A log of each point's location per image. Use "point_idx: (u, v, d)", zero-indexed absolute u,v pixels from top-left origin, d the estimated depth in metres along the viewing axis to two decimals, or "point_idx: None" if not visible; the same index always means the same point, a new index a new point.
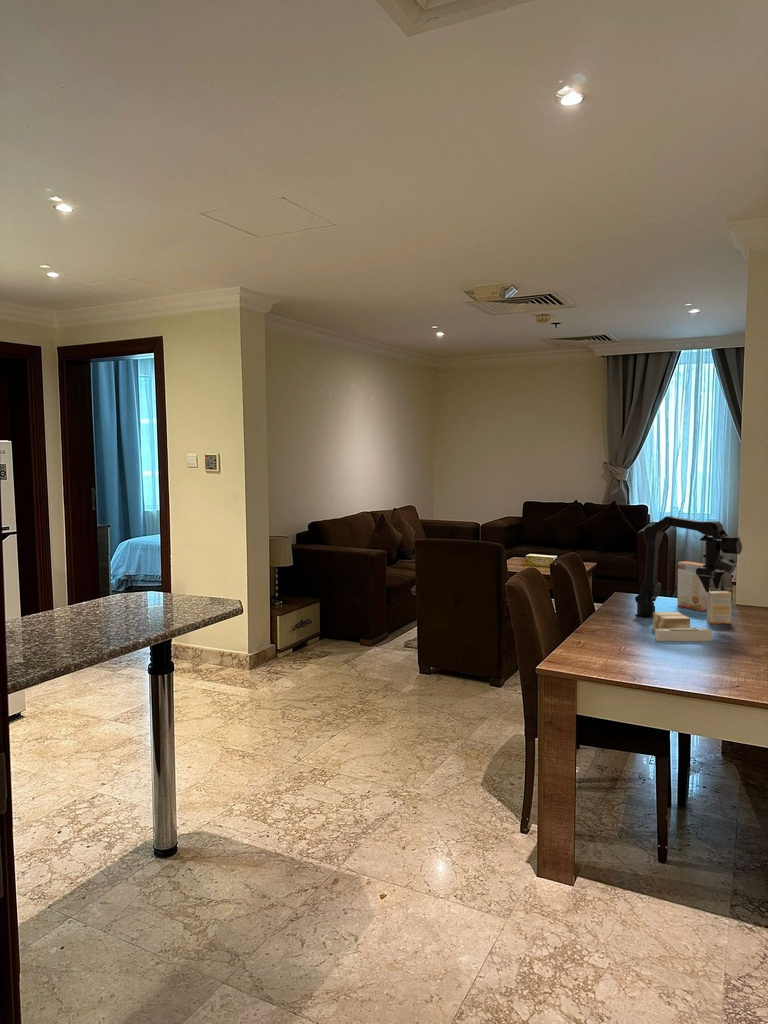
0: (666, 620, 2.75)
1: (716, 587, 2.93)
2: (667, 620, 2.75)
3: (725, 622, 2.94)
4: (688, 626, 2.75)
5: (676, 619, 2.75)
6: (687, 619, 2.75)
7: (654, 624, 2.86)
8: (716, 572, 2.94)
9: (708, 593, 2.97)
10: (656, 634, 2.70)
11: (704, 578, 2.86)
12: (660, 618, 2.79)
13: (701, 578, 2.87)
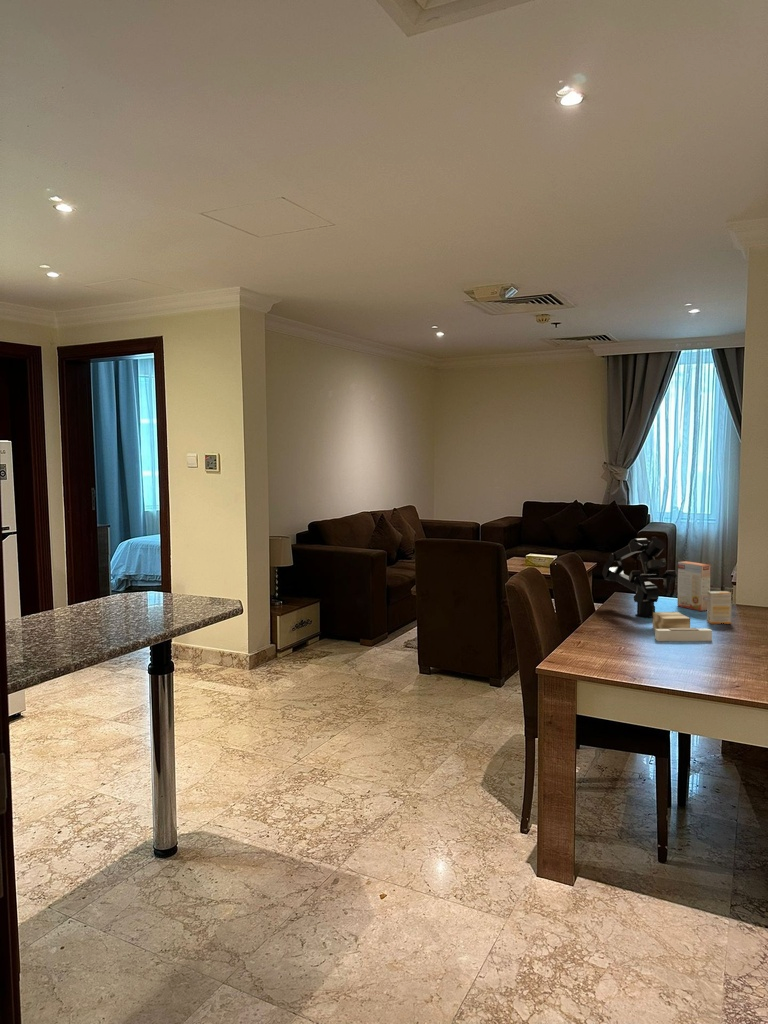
0: (666, 620, 2.75)
1: (666, 592, 2.98)
2: (667, 620, 2.75)
3: (725, 622, 2.94)
4: (688, 626, 2.75)
5: (676, 619, 2.75)
6: (687, 619, 2.75)
7: (654, 624, 2.86)
8: (664, 580, 3.02)
9: (708, 593, 2.97)
10: (656, 634, 2.70)
11: (640, 583, 3.02)
12: (660, 618, 2.79)
13: (638, 584, 3.02)
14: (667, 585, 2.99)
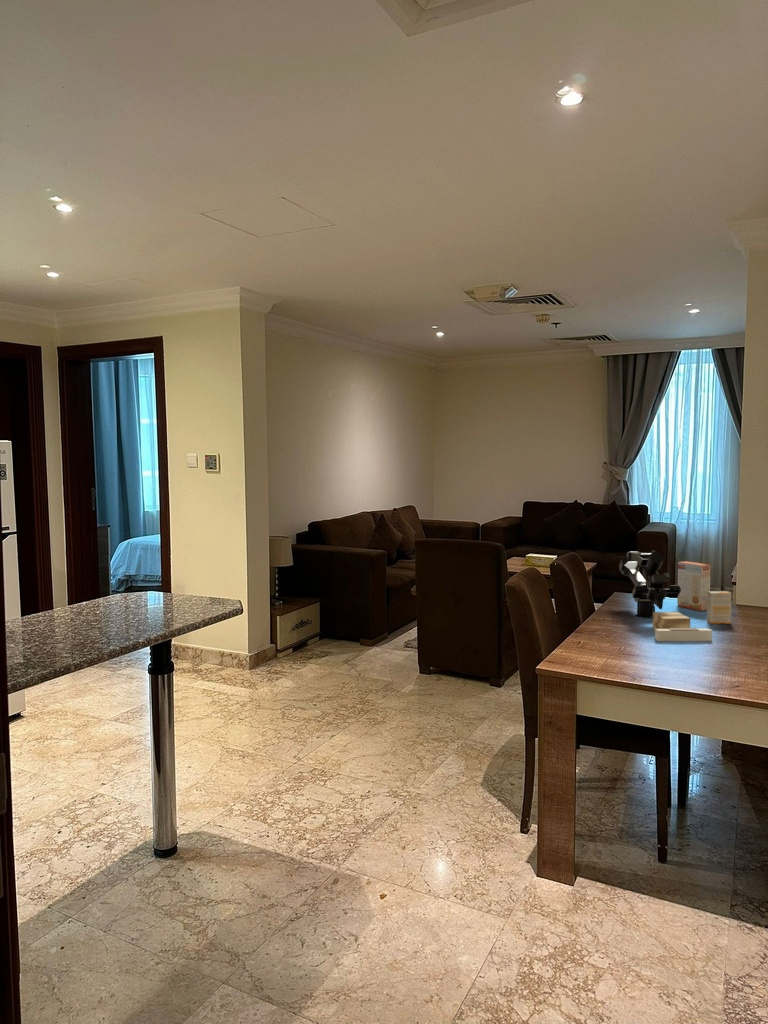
0: (666, 620, 2.75)
1: None
2: (667, 620, 2.75)
3: (725, 622, 2.94)
4: (688, 626, 2.76)
5: (676, 619, 2.75)
6: (687, 619, 2.75)
7: (654, 624, 2.86)
8: (658, 595, 2.97)
9: (708, 593, 2.97)
10: (656, 634, 2.70)
11: (653, 598, 2.97)
12: (660, 618, 2.79)
13: (651, 599, 2.97)
14: (661, 600, 2.94)
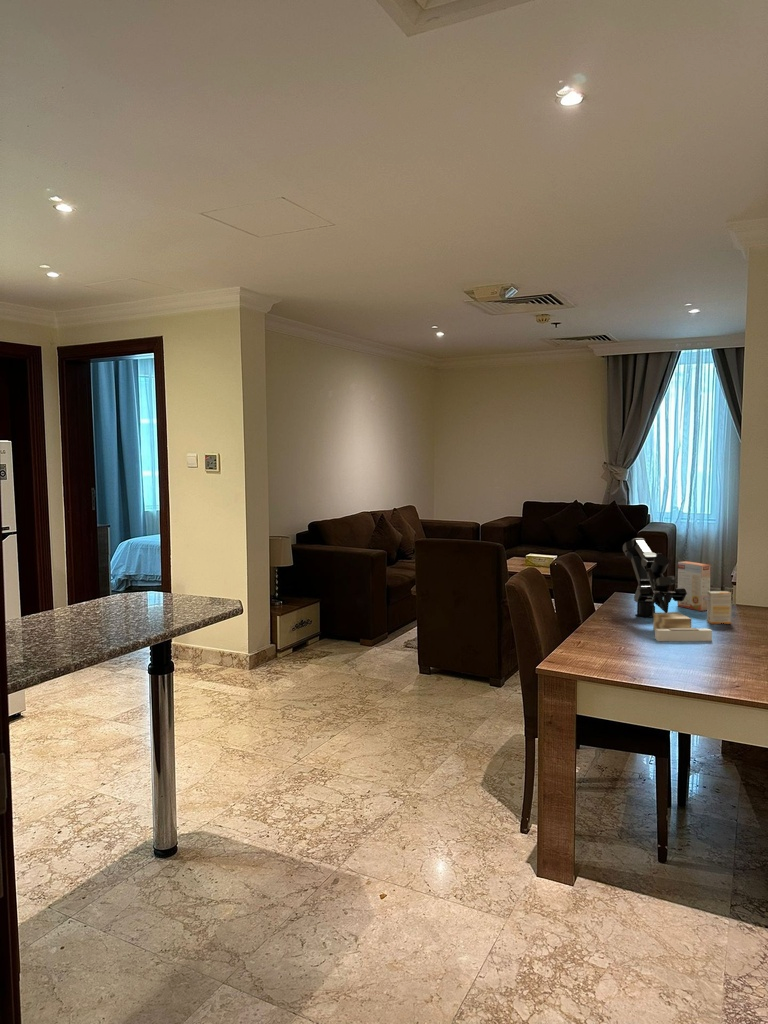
0: (667, 620, 2.75)
1: None
2: (669, 621, 2.75)
3: (725, 622, 2.94)
4: (689, 626, 2.75)
5: (677, 619, 2.75)
6: (688, 619, 2.75)
7: (654, 624, 2.85)
8: (664, 599, 2.91)
9: (708, 593, 2.97)
10: (656, 634, 2.70)
11: (658, 601, 2.91)
12: (661, 619, 2.78)
13: (657, 603, 2.91)
14: (666, 603, 2.88)
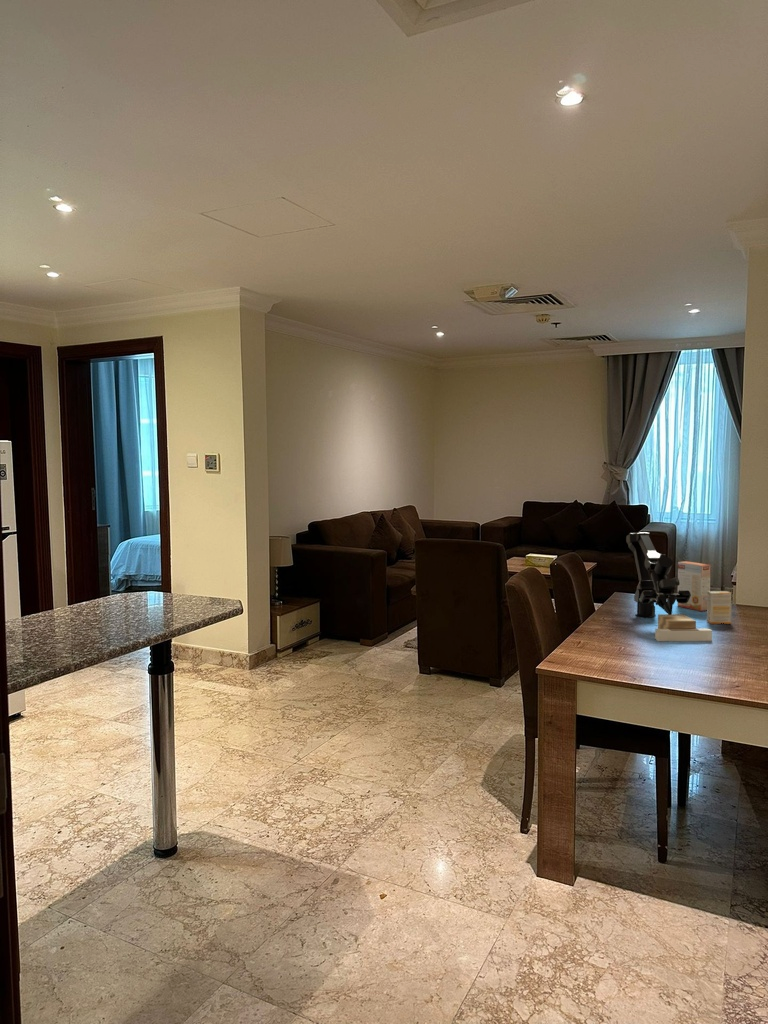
0: (671, 623, 2.71)
1: None
2: (672, 623, 2.71)
3: (725, 622, 2.94)
4: None
5: (681, 622, 2.71)
6: (693, 622, 2.70)
7: (659, 626, 2.81)
8: (667, 601, 2.87)
9: (708, 593, 2.97)
10: (656, 634, 2.70)
11: (662, 603, 2.87)
12: (665, 621, 2.74)
13: (660, 605, 2.87)
14: (670, 606, 2.84)
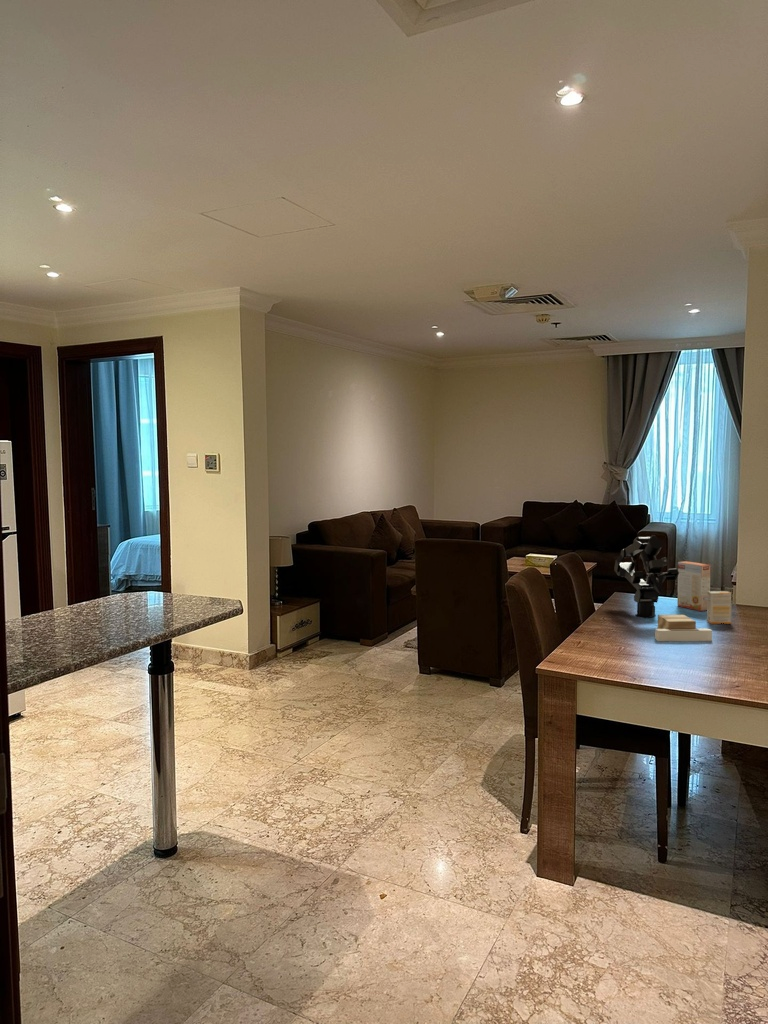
0: (671, 623, 2.71)
1: None
2: (672, 623, 2.71)
3: (725, 622, 2.94)
4: None
5: (681, 622, 2.71)
6: (693, 622, 2.70)
7: (659, 627, 2.81)
8: (657, 580, 3.01)
9: (708, 593, 2.97)
10: (656, 634, 2.70)
11: (652, 583, 3.01)
12: (665, 621, 2.74)
13: (650, 584, 3.02)
14: (660, 585, 2.98)
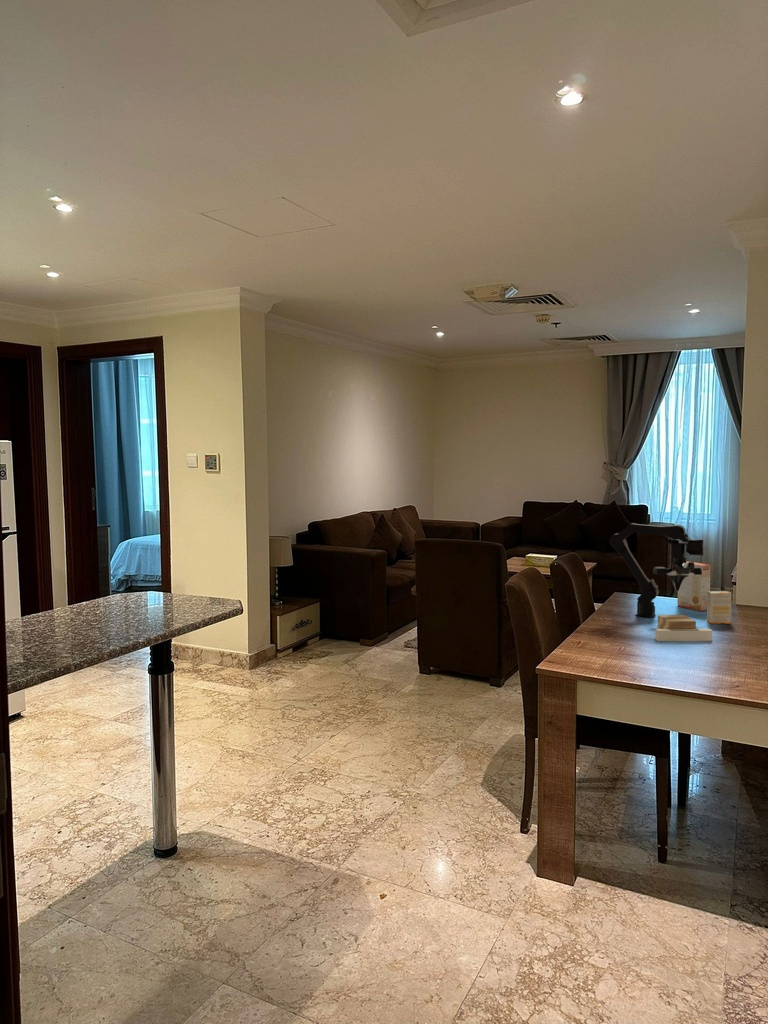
0: (671, 623, 2.71)
1: None
2: (672, 623, 2.71)
3: (725, 622, 2.94)
4: None
5: (682, 622, 2.71)
6: (693, 622, 2.70)
7: (659, 627, 2.81)
8: (678, 575, 3.05)
9: (708, 593, 2.97)
10: (656, 634, 2.70)
11: (673, 577, 3.05)
12: (665, 621, 2.74)
13: (670, 577, 3.06)
14: (679, 583, 3.04)
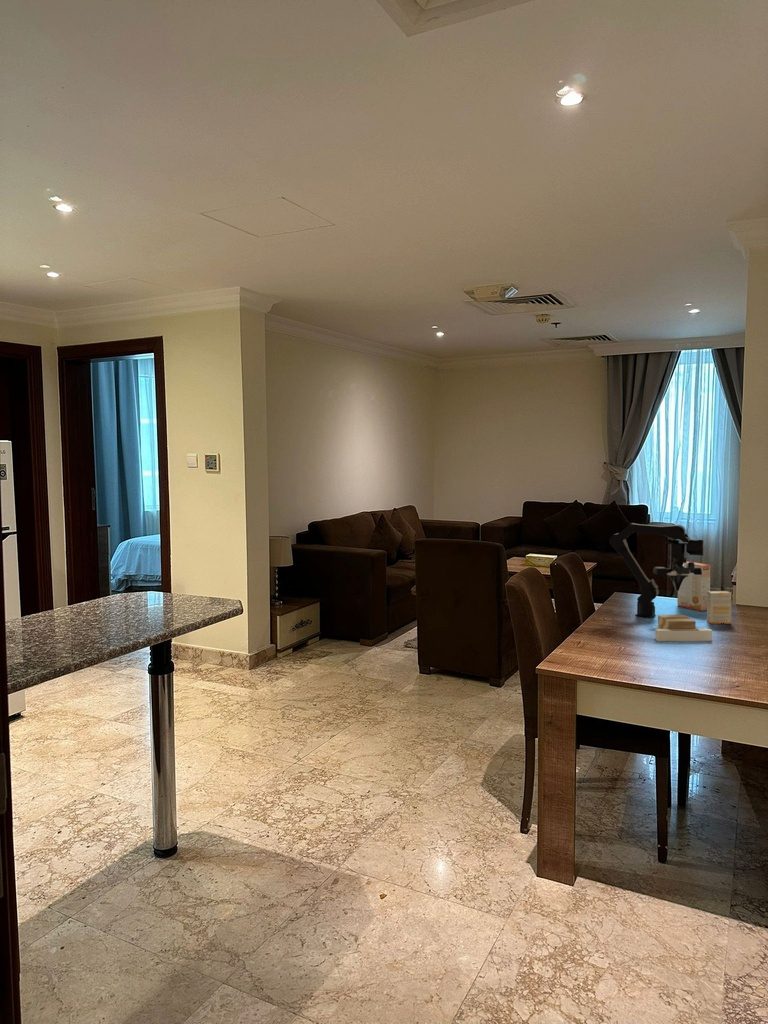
0: (670, 623, 2.71)
1: None
2: (672, 623, 2.71)
3: (725, 622, 2.94)
4: None
5: (681, 622, 2.71)
6: (692, 622, 2.70)
7: (659, 627, 2.81)
8: (678, 575, 3.05)
9: (708, 593, 2.97)
10: (656, 634, 2.70)
11: (673, 577, 3.05)
12: (665, 621, 2.74)
13: (670, 577, 3.06)
14: (679, 583, 3.04)
